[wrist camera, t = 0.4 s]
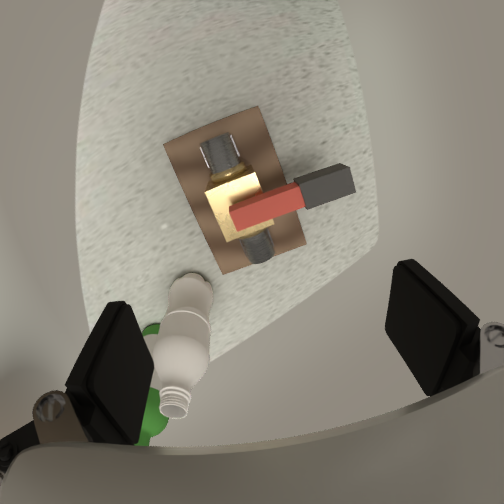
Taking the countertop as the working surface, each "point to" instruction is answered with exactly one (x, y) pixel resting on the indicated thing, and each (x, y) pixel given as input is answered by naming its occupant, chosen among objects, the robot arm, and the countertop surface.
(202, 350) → the water bottle
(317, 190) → the valve lever
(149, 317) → the countertop surface
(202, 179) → the mounting board
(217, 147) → the ball valve
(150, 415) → the wine bottle
